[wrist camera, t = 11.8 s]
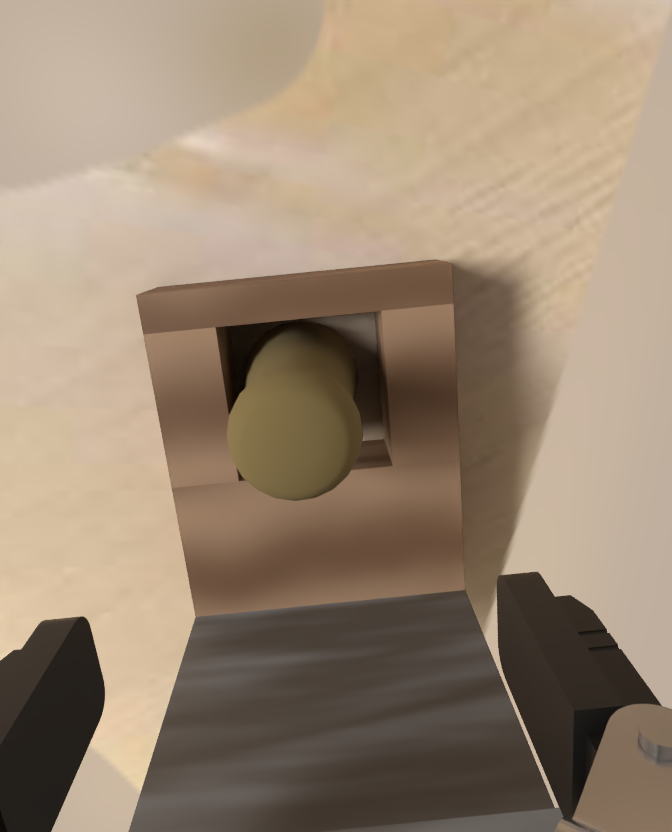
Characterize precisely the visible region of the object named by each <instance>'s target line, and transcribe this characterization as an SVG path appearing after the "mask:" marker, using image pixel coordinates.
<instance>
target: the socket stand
mask: <svg viewBox="0 0 672 832" xmlns="http://www.w3.org/2000/svg"><path fill="white" fill-rule="evenodd" d="M136 297H137V303H138V308H139V314H140V319H141V324H142V330H143V335H144V341H145V346H146V351H147V357H148V362H149V367H150V373H151V378H152V384H153V389H154V394H155V400H156V405H157V411H158V416H159V421H160V427H161V432H162V438H163V443H164V448H165V454H166V459H167V465H168V470H169V475H170V481H171V486H172V492H173V497H174V502H175V508H176V513H177V518H178V524H179V529H180V535H181V540H182V545H183V551H184V556H185V562H186V567H187V572H188V578H189V583H190V589H191V594H192V599H193V605H194V610H195V616H196V618H195V621H194V624H193V627H192V631H191V634H190V637H189V640H188V643H187V647H186V650H185V653H184V656H183V659H182V663H181V666H180V669H179V672H178V675H177V679H176V682H175V685H174V688H173V691H172V695H171V698H170V701H169V704H168V707H167V711H166V714H165V717H164V720H163V723H162V727H161V730H160V733H159V736H158V739H157V743H156V746H155V749H154V752H153V755H152V759H151V762H150V765H149V768H148V771H147V775H146V778H145V781H144V784H143V787H142V791H141V794H140V797H139V800H138V804H137V807H136V810H135V813H134V816H133V819H132V823H131V826H130V829H129V832H555V830H556V827H557V825H558V823H559V821H560V820H561V819H562V818H563V815H562V812H561V810H560V808H555V807H554V805H553V802H552V800H551V798H550V795H549V793H548V790H547V788H546V786H545V783H544V781H543V779H542V776H541V773H540V771H539V768H538V766H537V764H536V761H535V759H534V757H533V754H532V751H531V749H530V747H529V744H528V742H527V739H526V737H525V735H524V732H523V730H522V727H521V725H520V722H519V720H518V718H517V715H516V713H515V710H514V708H513V705H512V703H511V701H510V698H509V696H508V693H507V691H506V688H505V686H504V684H503V681H502V679H501V676H500V674H499V671H498V669H497V667H496V664H495V662H494V659H493V657H492V655H491V652H490V650H489V647H488V645H487V642H486V640H485V637H484V635H483V633H482V630H481V628H480V625H479V623H478V620H477V618H476V616H475V613H474V611H473V608H472V606H471V603H470V601H469V599H468V596H467V594H466V591H465V578H464V553H463V528H462V503H461V478H460V453H459V427H458V402H457V377H456V352H455V327H454V301H453V276H452V264H451V263H447V262H443V261H439V260H427V261H417V262H407V263H397V264H387V265H376V266H366V267H356V268H346V269H336V270H326V271H316V272H306V273H296V274H286V275H276V276H266V277H255V278H245V279H235V280H225V281H215V282H205V283H195V284H185V285H175V286H165V287H157V288H154V289H152V290H149V291H146V292H143V293H141V294H138V295H136ZM365 312H375V324H376V337H377V350H378V363H379V376H380V389H381V402H382V415H383V428H384V439H383V440H373V441H363V442H362V444H361V450H360V455H359V457H358V459H357V460H356V462H355V464H354V466H353V468H352V469H351V471H350V473H349V475H348V476H347V477H346V478H345V479H344V480H343V481H342V482H341V483H340V484H339V485H338V486H337V487H335V488H334V489H333V490H331V491H329V492H327V493H325V494H323V495H321V496H319V497H317V498H312V499H306V500H299V501H291V500H284V499H276V498H274V497H271V496H269V495H267V494H265V493H263V492H260V491H258V490H257V489H255V488H254V487H253V486H252V485H251V484H250V483H249V482H248V481H246V480H245V479H244V478H243V477H242V476H241V474H240V472H239V470H238V469H237V467H236V465H235V464H234V462H233V460H232V458H231V454H230V450H229V445H228V441H227V428H228V419H229V415H230V412H231V410H232V408H233V406H234V404H235V402H236V400H237V398H238V396H239V391H238V384H237V377H236V370H235V363H234V356H233V349H232V342H231V335H230V328H229V326H234V325H244V324H254V323H264V322H274V321H284V320H294V319H304V318H314V317H324V316H334V315H344V314H355V313H365Z"/></svg>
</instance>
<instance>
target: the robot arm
mask: <svg viewBox="0 0 672 832" xmlns="http://www.w3.org/2000/svg"><path fill="white" fill-rule="evenodd" d="M497 614H498V648H499V655H500V661H501V665H502V669H503V673H504V676H505V679H506V681H507V684H508V686H509V688H510V691H511V693H512V695H513V698H514V700H515V703H516V705H517V707H518V710H519V712H520V715H521V717H522V719H523V722H524V724H525V726H526V729H527V731H528V734H529V736H530V738H531V741H532V743H533V746H534V748H535V750H536V753H537V755H538V757H539V760H540V762H541V765H542V767H543V769H544V772H545V774H546V776H547V779H548V781H549V784H550V786H551V788H552V791H553V793H554V796H555V798H556V800H557V803H558V805H559V808H560V810H561V812H562V815H563V818H562V819H561V820H560V821H559V823H558V825H557V827H556V830H555V832H672V709H670V708H667V707H663V706H662V705H661V704H660V703H659V701H658V700H657V698H656V697H655V696H654V695H653V693H652V692H651V690H650V689H649V687H648V686H647V685H646V683H645V682H644V680H643V679H642V678H641V677H640V675H639V674H638V672H637V671H636V669H635V668H634V667H633V665H632V664H631V662H630V661H629V660H628V658H627V657H626V655H625V654H624V653H623V651H622V650H621V649H619V648H618V644H617V643H616V642H615V640H614V639H613V637H612V636H611V635H610V633H607V629H606V628H605V626H604V625H603V624H602V622H601V621H600V619H598V617H597V615H596V614H595V613H594V611H593V610H591V609H590V608H589V607H587V606H586V605H584V604H583V603H581V602H580V601H578V600H577V599H575V598H574V597H572V596H570V595H568V596H559V597H555V596H554V595H553V593H552V592H551V590H550V589H549V587H548V586H547V584H546V583H545V581H544V579H543V578H542V576H541V575H540V574H539V573H538V572H530V573H520V574H510V575H500V576H499V577H498V580H497ZM104 700H105V687H104V680H103V676H102V672H101V668H100V664H99V660H98V656H97V652H96V648H95V644H94V640H93V636H92V632H91V628H90V625H89V622H88V620H87V619H86V618H85V617H72V618H63V619H53V620H44V621H42V622H41V623H40V624H39V625H38V626H37V628H36V629H35V631H34V632H33V634H32V635H31V636H30V638H29V639H28V641H27V642H26V644H25V645H24V647H23V648H22V649H21V650H13V651H12V652H11V653H10V654H8V655H7V656H6V657H5V658H3V659H2V660H1V661H0V832H51V831H52V828H53V826H54V824H55V821H56V819H57V817H58V815H59V812H60V810H61V808H62V805H63V803H64V801H65V799H66V796H67V794H68V792H69V789H70V787H71V785H72V783H73V780H74V778H75V776H76V773H77V771H78V769H79V767H80V764H81V762H82V760H83V757H84V755H85V753H86V750H87V748H88V746H89V744H90V741H91V739H92V737H93V735H94V732H95V730H96V728H97V725H98V723H99V721H100V718H101V716H102V712H103V708H104Z"/></svg>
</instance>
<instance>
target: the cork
mask: <svg viewBox="0 0 672 832" xmlns="http://www.w3.org/2000/svg"><path fill="white" fill-rule="evenodd" d="M357 383H358V372H357V366H356V360H355V358H354V356H353V354H352V352H351V350H350V349H349V347H348V345H347V344H346V343H345V342H344V341H343V340H342V339H341V338H340V337H339V336H338V335H337V334H336V333H335V332H333V331H331V330H329V329H327V328H326V327H324V326H322V325H320V324H315V323H309V322H303V321H298V322H292V323H286V324H281V325H279V326H278V327H276V328H274V329H272V330H270V331H268V332H266V333H265V334H264V335H263V336H262V337H261V338H260V339H259V340H258V341H257V342H256V343H255V344H254V345H253V347H252V350H251V352H250V354H249V356H248V358H247V360H246V364H245V373H244V390H243V391H242V392H241V393H240V394H239V396H238V398H237V400H236V402H235V404H234V406H233V408H232V410H231V412H230V415H229V419H228V428H227V441H228V445H229V450H230V454H231V458H232V460H233V462H234V464H235V465H236V467H237V469H238V470H239V472H240V474H241V476H242V477H243V478H244V479H245V480H246V481H248V482H249V483H250V484H251V485H252V486H253V487H254V488H255V489H257V490H258V491H260V492H263V493H265V494H267V495H269V496H271V497H274V498H276V499H284V500H291V501H299V500H306V499H312V498H317V497H319V496H321V495H323V494H325V493H327V492H329V491H331V490H333V489H334V488H335V487H337V486H338V485H339V484H340V483H341V482H342V481H343V480H344V479H345V478H346V477H347V476H348V475H349V473H350V471H351V469H352V468H353V466H354V464H355V462H356V460H357V459H358V457H359V455H360V450H361V444H362V439H363V431H362V424H361V418H360V413H359V410H358V408H357V406H356V404H355V402H354V398H355V395H356V389H357Z"/></svg>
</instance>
